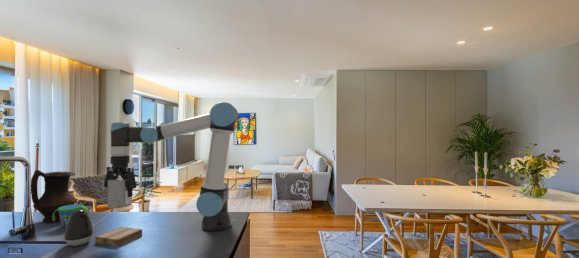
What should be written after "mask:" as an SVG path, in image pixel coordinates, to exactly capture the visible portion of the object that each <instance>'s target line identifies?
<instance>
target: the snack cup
mask: <svg viewBox="0 0 579 258" xmlns="http://www.w3.org/2000/svg"><path fill="white" fill-rule="evenodd" d="M57 210H58V212H59V215H60V226H61V227H62V228H66V226H67V223H68V220H69V218H70V216H71V215H72V213H73V212H75V211H77V210H85V211H86V212H87V213H88V215H90V214H89V213H90V211H89V208H88V207H87V206H84V204H78V203H75V204H73V205H66V206H62V207H59V208H58V209H57ZM57 210H55V211H54V212H53V214H52V221H55V215H54V214H55V212H56V211H57Z"/></svg>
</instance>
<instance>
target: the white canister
mask: <svg viewBox="0 0 579 258" xmlns="http://www.w3.org/2000/svg"><path fill="white" fill-rule="evenodd" d="M129 187H130V186H129ZM126 189H127V188H126V186H125V180H123V179H122V177H117V179H113V180H110V179H109V180H108V189H107V205H106V206H107V208H108V209H121V208H126V207H130V206H131V205H132V203H130V204H127V205H125V190H126Z"/></svg>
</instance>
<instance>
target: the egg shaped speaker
mask: <svg viewBox="0 0 579 258" xmlns="http://www.w3.org/2000/svg"><path fill="white" fill-rule="evenodd" d="M89 215H90V214H89ZM89 215H88V213H87V211H86V210H85V209H83V210H77V211H75V212H73V213H72V215H71V216H70V218H69V220H68V223H67V226H66V227H65V230H64V235H63V239H64V241H65V243H66V245H68V246H70V247H79V245H80V246H82V245H84V244H87V243H88V242H89V241H90V240H91V239H92V236H93V234H94V228H93V223H92V220H91V216H89Z"/></svg>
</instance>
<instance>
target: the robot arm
mask: <svg viewBox="0 0 579 258" xmlns="http://www.w3.org/2000/svg"><path fill="white" fill-rule="evenodd" d="M238 119H239V112H238V110H237V109H236V107H235V106H234V105H232V104H231V103H229V102H227V101H226V102H225V101H220V102H217V103H215V104H214V105H213V106H212V107H211V108H210V111H209V113H206V114H205V113H204V114H201V115H198V116H194V117H190V118H185V119H181V120H177V121H176V120H175V121H173V122H168V123H164V124H161V125H160V124H159V125H157V126H147V125H146V126H131V125H130V122H119V121H118V122H117V121H116V122H115V121H114V122H112V123H111V125H110V150H109V151H110V164H111V165H110V166H106V173H105V179H104V184H103V187H104V188H106V189H107V190H108V180H109V179H110V180H113V179H117V178H119V176H120V178H122V179H123V180H125V186H126V188H127V189H126V190H125V205H127V204H130V203H132V202H133V201H132V197H133V190H134V189H136V188H137V182H136V179H135V173H134V171H135V167H133V166H131V167H130V166H129V164H130V161H131V160H130V147H131V146H130V143H146V144H149V143H155V142H156V143H157V142H161V141H162V140H166V139H170V138H174V137H175V138H176V137H179V136H183V135H186V134H191V133H195V132H199V131H203V130H207V129H209V130H210V131H211V133H212V134H211V139H210V145H209V152H208V153H209V154H208V159H207V165H206V172H205V180H204V182H203V183H201V185H200V190H199V196H198V198H197V200H196V203H195V204H196V205H195V206H196V209H197V211H198V212H199V213H200V215H202V216H203V218H202V221H201V229H202V230H205V231H209V232H217V231H222V230H226V229H228V228H230V227H231V226H232V220H231V216H230V213H229V211H228V210H229V209H228V205H229V203H228V202H229V201H228V200H229V199H228V198H229V197H228V195H229V194H228V193H229V192H228V191H229V186H228V183H227V182H224V180H225V174H226V173H225V172H226V169H227V168H226V166H227V160H228V159H227V158H228V152H229V146H230V140H231V135H232V134H234V133H235V127H236V123H237V121H238ZM129 186H130V187H129Z"/></svg>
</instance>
